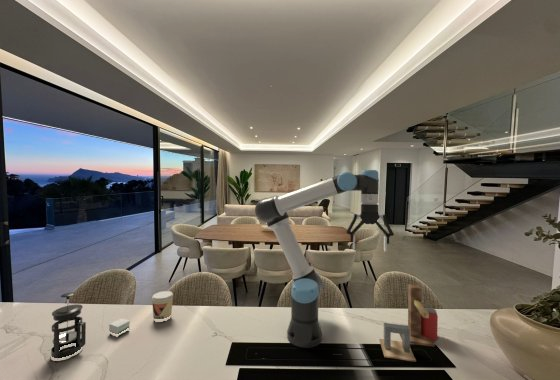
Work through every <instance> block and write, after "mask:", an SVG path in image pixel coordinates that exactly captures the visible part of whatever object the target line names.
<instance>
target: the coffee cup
mask: <svg viewBox="0 0 560 380" xmlns="http://www.w3.org/2000/svg"><path fill="white" fill-rule="evenodd" d="M173 297H174V293H173V292H172V291H170V290H162V291H158V292H156V293H154V294H153V295H152V297H151V300H152V302H151V303H152V318H154V319H164V318H167V317H169V316H170V315H171V316H172V309H173V299H174V298H173ZM154 319H153V320H154Z"/></svg>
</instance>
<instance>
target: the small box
mask: <svg viewBox="0 0 560 380" xmlns="http://www.w3.org/2000/svg"><path fill="white" fill-rule="evenodd" d="M108 327H109V328H108V329H109V330H108V331H110V332H112V333H115V334H119V333H121V332H122V331H124V330H126V329H127V328H129V329H130V320H129V319H125V318H122V317H121V318H119V319H117V320H115V321H113V322H111V323H109V324H108Z"/></svg>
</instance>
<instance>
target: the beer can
mask: <svg viewBox="0 0 560 380" xmlns="http://www.w3.org/2000/svg"><path fill="white" fill-rule="evenodd" d="M423 307H424V308H425V309H426V311H427V312H428V313H429V318H423V316H422V315H421V335H423V336H424V337H427V338H430V339H432V341H436V340H437V339H438V319H439V316H438V313H437V309H435V308H433V307H431V306H423Z"/></svg>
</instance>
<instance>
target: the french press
mask: <svg viewBox="0 0 560 380" xmlns="http://www.w3.org/2000/svg"><path fill="white" fill-rule="evenodd" d="M75 294H76V293H75V292H72V291H70V292H66V293H63V294H61V295H60V298H66V301H67V302H66V305H64V306H62V307H59V308H57V309H54V310H53V311H52V312H51V316H53V320H54V321H56V322H54V323H53V324H52V325H51V332H52V333H53V339H52V344H53V347H52V348H51V349H50V350H51V351H50V354H51V355H50V357H51V356H52V357H54V358H62V357H66V356H69V355H72V354H74V353H75V352H77V351H78V350H80V349H81V347H84V346H85V345H86V334H87V331H86V330H87V326H86V324H87V322H86V321H83V317H82V316H79V315H80V314H82V309H83V305H82V304H78V303H77V304H69V299H70V297H72V296H74V295H75ZM70 321H74V324H73V325H70V326H69V322H70ZM63 323H66V327H63V328H59V327H60V326H59V325H61V324H63ZM61 333H62V334H61ZM71 343H76V347H71V349H70V348H69V349H66V350H63V351H60V352H59V350H60V347H62V346H64V345H68V344H71Z"/></svg>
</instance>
